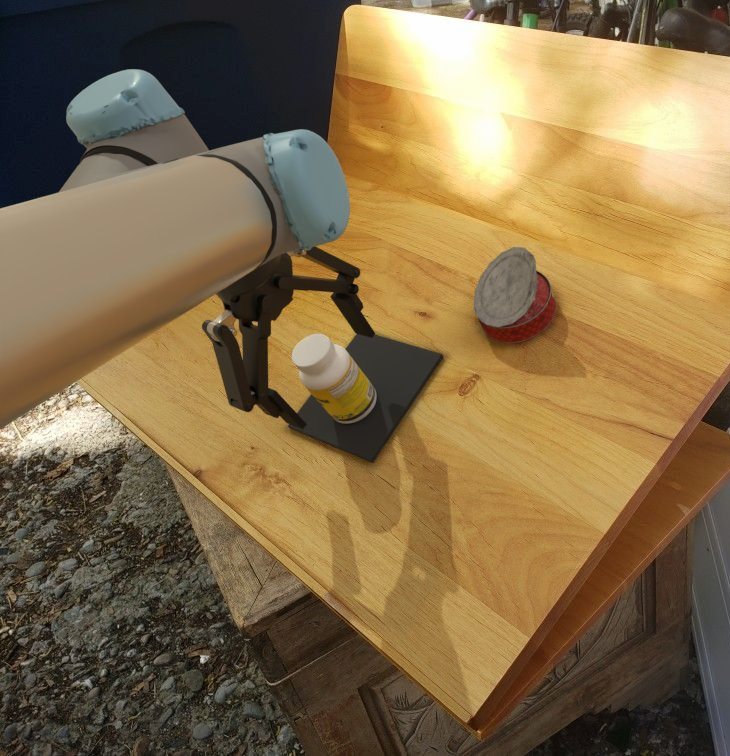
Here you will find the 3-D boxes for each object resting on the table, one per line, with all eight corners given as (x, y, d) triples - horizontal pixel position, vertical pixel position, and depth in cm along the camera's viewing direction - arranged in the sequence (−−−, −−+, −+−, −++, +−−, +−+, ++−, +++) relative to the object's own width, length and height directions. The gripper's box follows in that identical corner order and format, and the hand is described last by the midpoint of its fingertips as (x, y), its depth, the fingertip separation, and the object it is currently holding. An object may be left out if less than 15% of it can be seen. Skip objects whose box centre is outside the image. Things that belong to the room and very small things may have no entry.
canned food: (556, 351, 86) (542, 336, 76) (480, 347, 89) (457, 333, 79) (563, 264, 87) (549, 239, 78) (488, 263, 90) (465, 238, 80)
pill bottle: (323, 405, 85) (276, 351, 76) (364, 375, 86) (321, 318, 77) (345, 435, 81) (297, 381, 72) (387, 403, 82) (345, 346, 74)
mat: (372, 463, 78) (370, 460, 78) (289, 428, 85) (287, 425, 85) (443, 356, 85) (442, 353, 84) (361, 332, 92) (359, 329, 91)
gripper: (280, 152, 70) (368, 293, 86) (104, 332, 59) (242, 455, 75) (332, 158, 66) (414, 305, 82) (153, 351, 56) (288, 476, 72)
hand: (332, 377), depth 79 cm, fingers open, 13 cm apart
